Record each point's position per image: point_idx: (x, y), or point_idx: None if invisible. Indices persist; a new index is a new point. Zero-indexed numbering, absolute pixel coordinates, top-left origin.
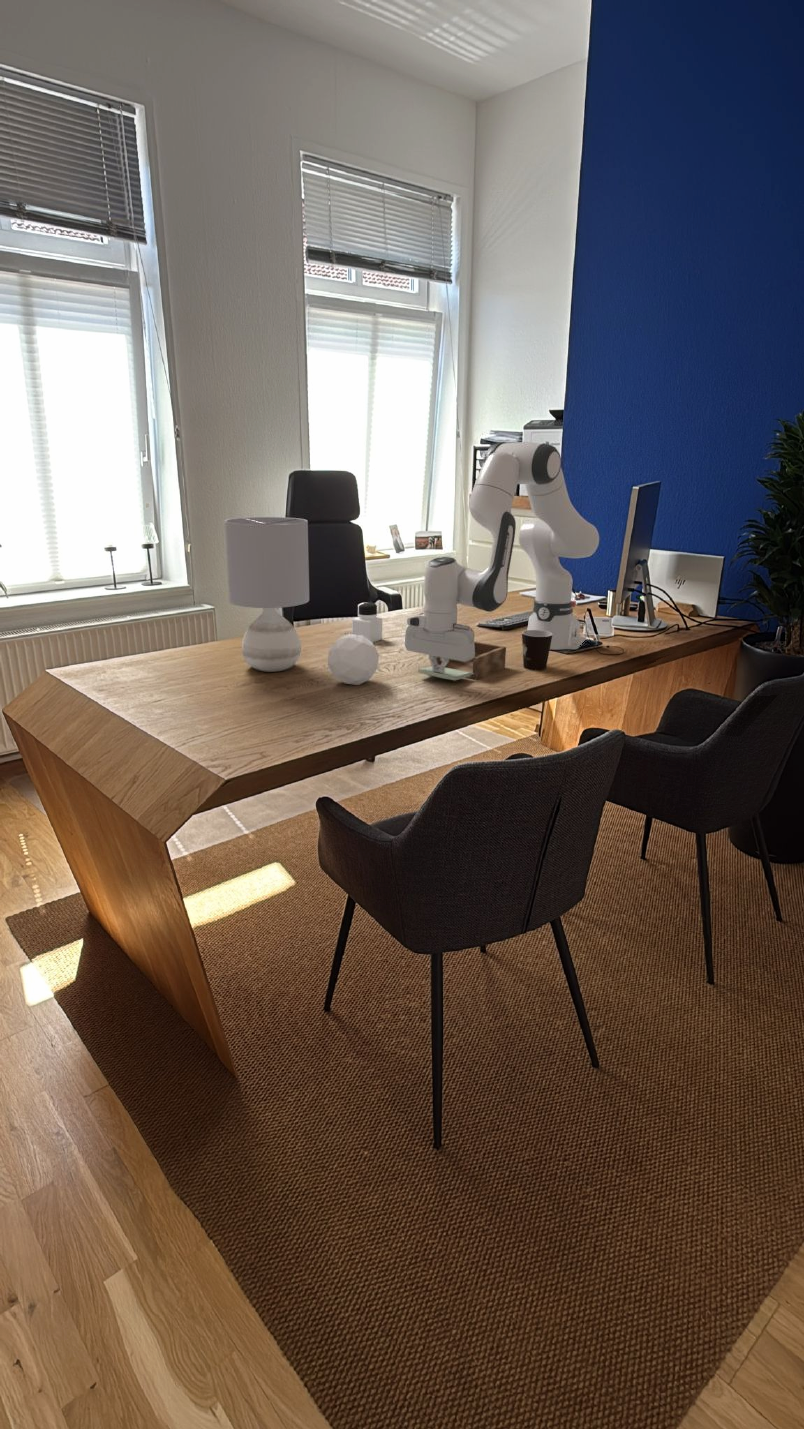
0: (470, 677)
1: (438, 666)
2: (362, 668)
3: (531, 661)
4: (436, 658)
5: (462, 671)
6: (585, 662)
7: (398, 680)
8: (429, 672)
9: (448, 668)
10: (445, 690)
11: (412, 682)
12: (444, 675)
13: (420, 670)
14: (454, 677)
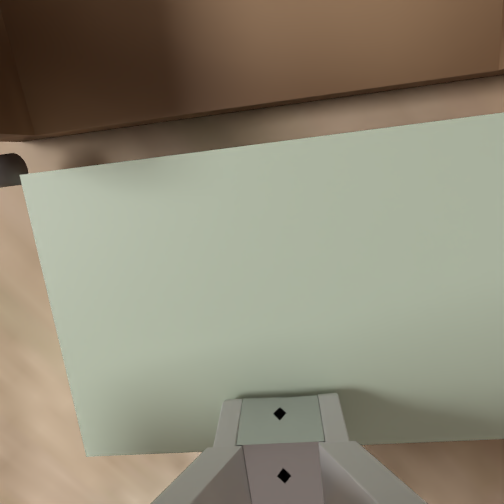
0: (457, 78)
1: (303, 500)
2: None
3: None
4: None
5: (415, 153)
6: None
7: (72, 496)
8: (209, 445)
9: (210, 169)
10: (456, 478)
11: (164, 477)
12: (380, 437)
13: (109, 448)
14: (501, 431)
